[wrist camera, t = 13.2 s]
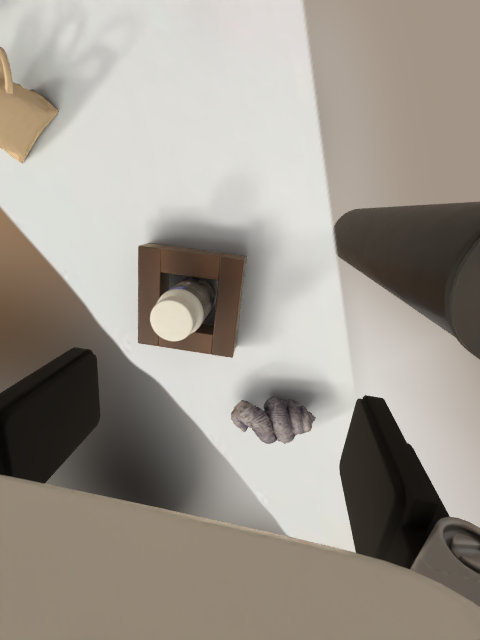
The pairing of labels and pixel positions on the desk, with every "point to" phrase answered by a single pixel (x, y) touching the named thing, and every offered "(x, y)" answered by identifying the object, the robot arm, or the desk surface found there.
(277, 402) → the seashell
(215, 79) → the desk surface
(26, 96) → the decorative ornament
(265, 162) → the desk surface
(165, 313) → the pill bottle
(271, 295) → the desk surface
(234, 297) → the holder
